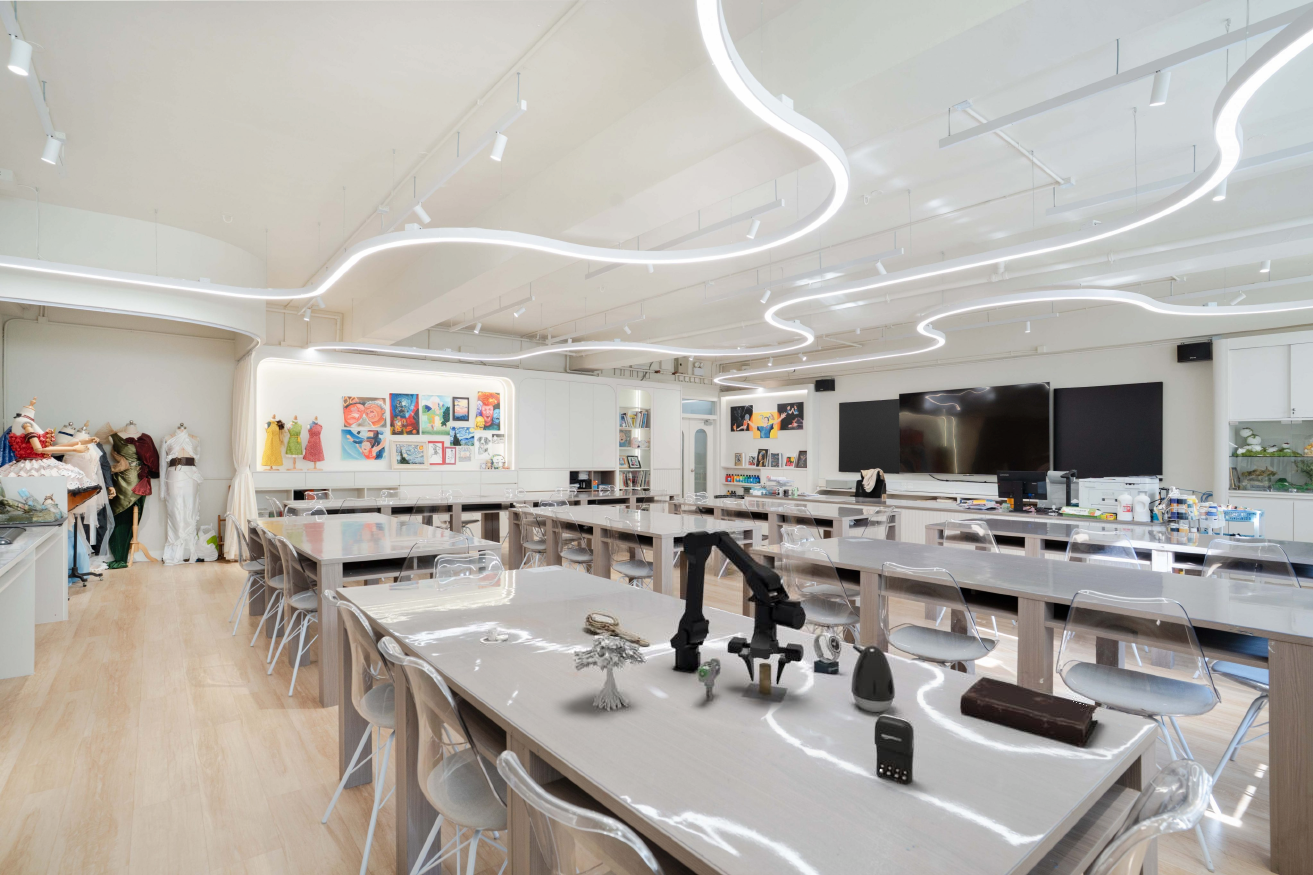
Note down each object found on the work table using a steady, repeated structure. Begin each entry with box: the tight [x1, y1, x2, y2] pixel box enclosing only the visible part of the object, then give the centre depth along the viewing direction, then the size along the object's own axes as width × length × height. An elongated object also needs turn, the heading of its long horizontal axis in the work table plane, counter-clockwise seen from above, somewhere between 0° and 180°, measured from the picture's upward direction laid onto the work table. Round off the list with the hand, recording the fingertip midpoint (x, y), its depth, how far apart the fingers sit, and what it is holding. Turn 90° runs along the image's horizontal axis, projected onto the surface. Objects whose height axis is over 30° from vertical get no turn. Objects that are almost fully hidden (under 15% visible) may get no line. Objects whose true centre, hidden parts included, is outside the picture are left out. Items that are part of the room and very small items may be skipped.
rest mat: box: [741, 682, 789, 704], centre depth 161 cm, size 10×10×1 cm
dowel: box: [758, 662, 772, 695], centre depth 161 cm, size 3×3×7 cm
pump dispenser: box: [850, 644, 896, 713], centre depth 155 cm, size 10×10×15 cm
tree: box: [572, 633, 647, 712], centre depth 156 cm, size 18×16×17 cm
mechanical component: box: [697, 657, 721, 702], centre depth 156 cm, size 3×10×10 cm, turn 155°
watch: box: [812, 632, 842, 676], centre depth 179 cm, size 6×8×11 cm
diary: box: [959, 676, 1099, 749], centre depth 150 cm, size 19×25×5 cm
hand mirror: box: [584, 611, 651, 647], centre depth 211 cm, size 11×6×30 cm
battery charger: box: [874, 714, 915, 785], centre depth 121 cm, size 7×4×11 cm, turn 56°
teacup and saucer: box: [479, 626, 509, 644], centre depth 206 cm, size 9×8×4 cm
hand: (765, 682), depth 161 cm, fingers open, 6 cm apart
